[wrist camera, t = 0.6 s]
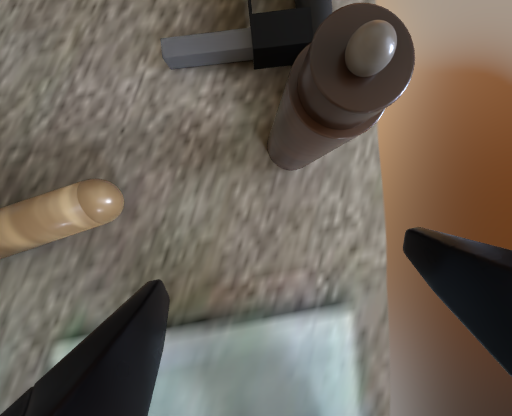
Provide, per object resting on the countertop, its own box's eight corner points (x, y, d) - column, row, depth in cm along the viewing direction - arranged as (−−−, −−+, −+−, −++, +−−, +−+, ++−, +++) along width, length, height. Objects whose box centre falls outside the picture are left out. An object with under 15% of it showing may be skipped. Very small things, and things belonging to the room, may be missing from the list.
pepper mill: (322, 161, 21) (475, 84, 7) (276, 176, 21) (334, 130, 7) (307, 114, 21) (435, -68, 7) (260, 129, 21) (288, -23, 6)
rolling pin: (124, 175, 20) (94, 169, 16) (138, 214, 21) (112, 218, 17) (-28, 225, 20) (-97, 232, 16) (-12, 265, 20) (-76, 281, 16)
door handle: (166, 123, 18) (358, 102, 18) (137, -130, 17) (339, -159, 17) (181, 134, 21) (343, 117, 21) (157, -77, 20) (326, -100, 20)
